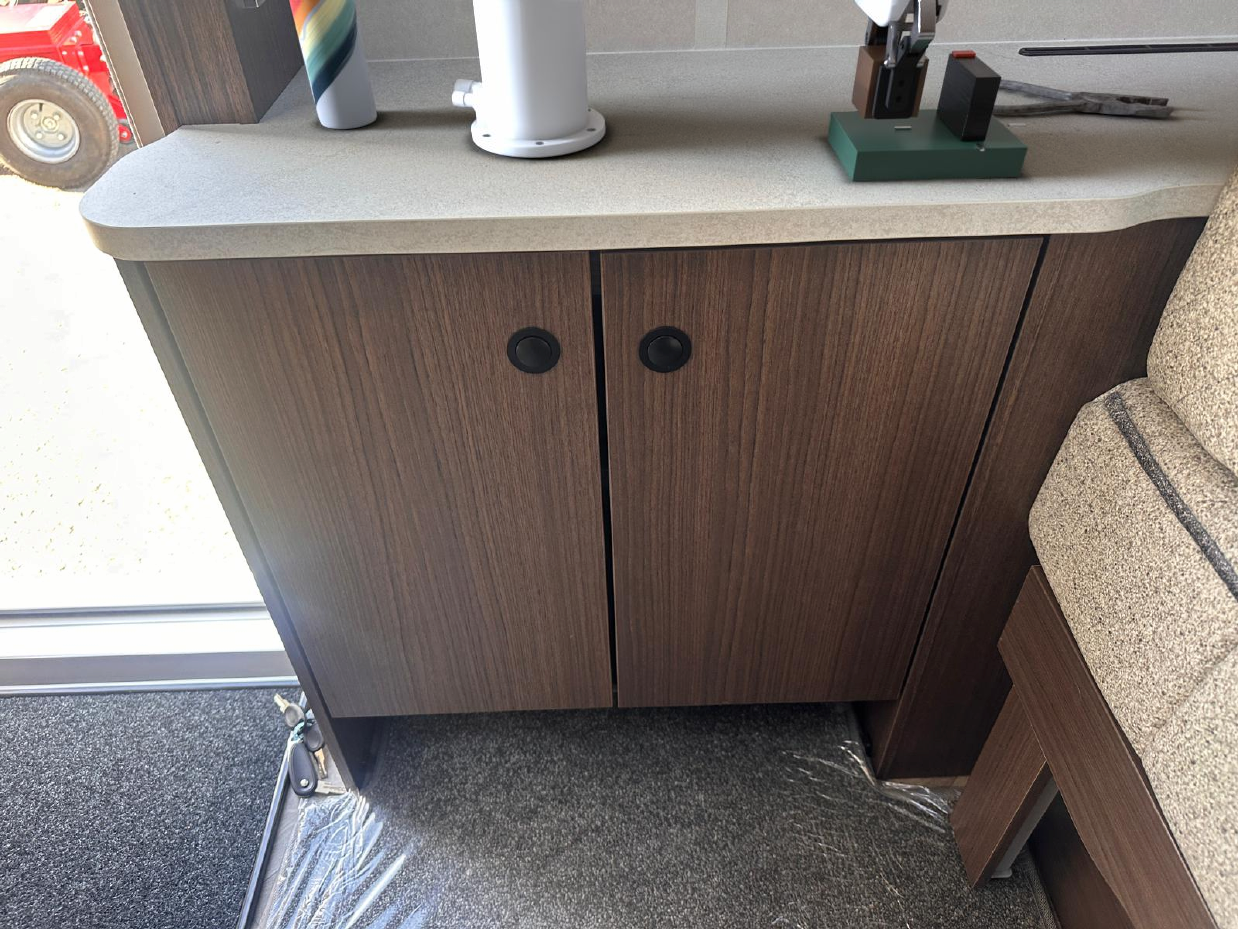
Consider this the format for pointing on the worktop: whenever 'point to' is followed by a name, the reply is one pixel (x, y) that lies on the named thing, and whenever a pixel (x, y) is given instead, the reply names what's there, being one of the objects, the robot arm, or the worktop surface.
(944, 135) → the green base
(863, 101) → the block
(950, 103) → the block
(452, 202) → the worktop surface
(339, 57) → the lotion bottle
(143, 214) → the worktop surface
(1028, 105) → the pliers
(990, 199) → the worktop surface
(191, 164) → the worktop surface
